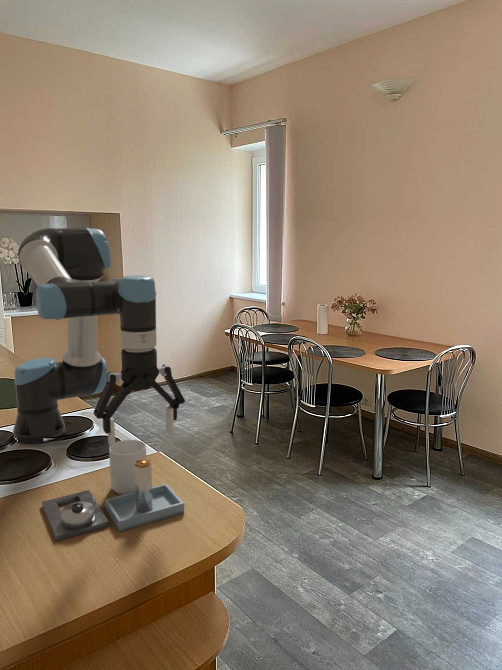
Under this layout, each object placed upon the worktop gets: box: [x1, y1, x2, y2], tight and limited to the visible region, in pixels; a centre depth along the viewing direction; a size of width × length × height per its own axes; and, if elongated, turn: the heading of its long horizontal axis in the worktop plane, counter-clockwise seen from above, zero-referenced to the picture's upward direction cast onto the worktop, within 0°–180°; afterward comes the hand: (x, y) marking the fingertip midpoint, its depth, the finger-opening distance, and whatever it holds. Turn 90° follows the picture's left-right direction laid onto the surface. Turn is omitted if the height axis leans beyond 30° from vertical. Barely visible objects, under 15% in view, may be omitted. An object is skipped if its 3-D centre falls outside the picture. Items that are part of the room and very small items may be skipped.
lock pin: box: [134, 458, 153, 513], centre depth 121 cm, size 4×4×12 cm
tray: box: [104, 483, 185, 533], centre depth 122 cm, size 15×11×2 cm
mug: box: [108, 439, 147, 496], centre depth 133 cm, size 12×9×11 cm
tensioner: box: [41, 489, 110, 542], centre depth 120 cm, size 16×11×5 cm
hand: (141, 439), depth 119 cm, fingers open, 13 cm apart
